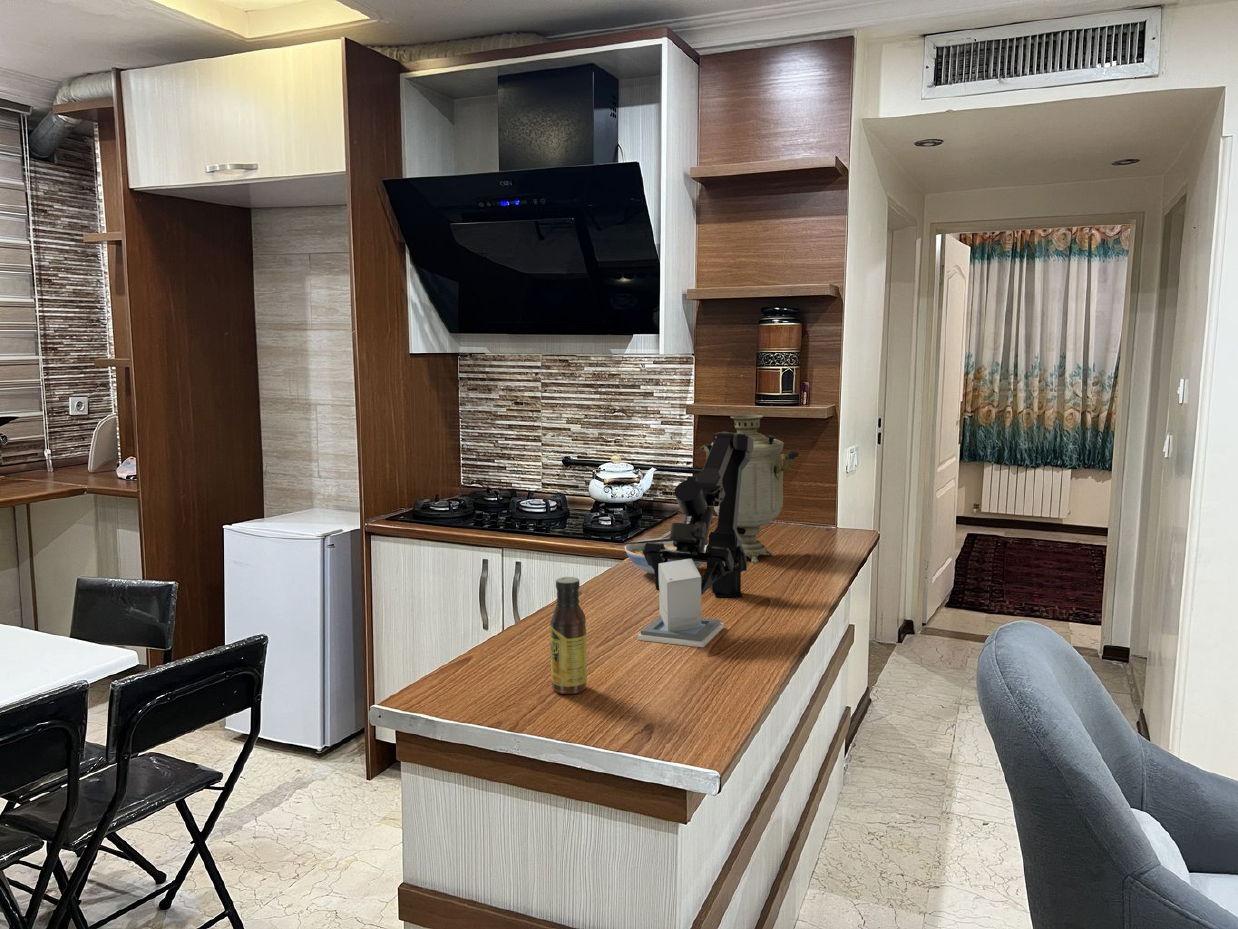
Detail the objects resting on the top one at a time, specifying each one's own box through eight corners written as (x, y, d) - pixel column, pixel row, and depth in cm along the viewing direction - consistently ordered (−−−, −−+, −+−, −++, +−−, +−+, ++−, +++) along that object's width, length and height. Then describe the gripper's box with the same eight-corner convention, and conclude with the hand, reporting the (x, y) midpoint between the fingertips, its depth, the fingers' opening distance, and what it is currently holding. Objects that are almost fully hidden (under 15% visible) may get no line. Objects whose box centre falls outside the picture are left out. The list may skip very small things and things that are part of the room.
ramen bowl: (634, 589, 229) (634, 556, 228) (610, 568, 251) (610, 538, 250) (728, 581, 236) (728, 549, 235) (697, 561, 258) (697, 532, 257)
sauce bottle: (551, 683, 165) (548, 574, 162) (586, 682, 165) (584, 573, 163) (551, 697, 158) (549, 584, 156) (588, 696, 159) (586, 582, 156)
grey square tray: (661, 621, 202) (661, 613, 202) (723, 627, 197) (723, 619, 196) (637, 639, 189) (637, 631, 189) (703, 647, 184) (703, 638, 184)
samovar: (826, 558, 259) (828, 415, 254) (756, 572, 244) (757, 421, 239) (753, 541, 283) (754, 410, 278) (686, 553, 269) (685, 415, 264)
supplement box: (702, 628, 191) (702, 577, 185) (667, 633, 189) (666, 582, 184) (692, 607, 197) (692, 557, 191) (658, 612, 196) (657, 562, 190)
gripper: (645, 504, 197) (625, 566, 188) (730, 509, 190) (714, 574, 181) (658, 534, 205) (640, 595, 196) (740, 540, 198) (725, 603, 189)
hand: (678, 591), depth 190 cm, fingers closed on supplement box, 9 cm apart
